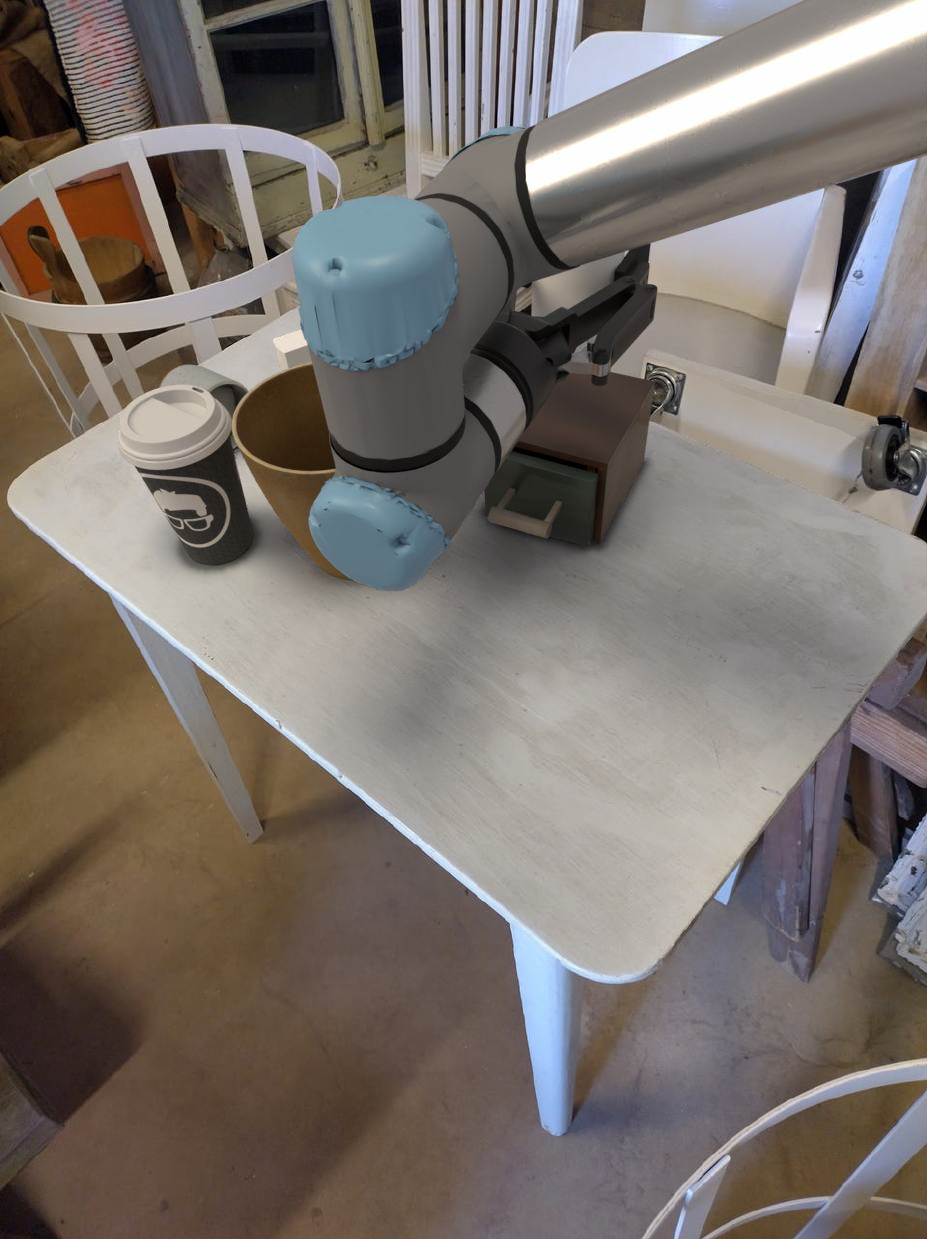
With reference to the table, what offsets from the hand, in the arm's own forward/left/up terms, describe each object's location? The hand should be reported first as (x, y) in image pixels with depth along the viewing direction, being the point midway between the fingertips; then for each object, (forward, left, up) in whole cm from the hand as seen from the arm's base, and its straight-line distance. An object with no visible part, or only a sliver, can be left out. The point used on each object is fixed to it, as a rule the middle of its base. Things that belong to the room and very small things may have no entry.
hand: (599, 241), depth 66 cm
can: (0, +5, -7) cm, 8 cm away
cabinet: (0, +5, -22) cm, 23 cm away
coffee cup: (+28, +25, -23) cm, 44 cm away
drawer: (0, +9, -21) cm, 23 cm away
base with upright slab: (+26, +6, -23) cm, 35 cm away
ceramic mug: (+39, +13, -23) cm, 47 cm away
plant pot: (+15, +21, -23) cm, 34 cm away
